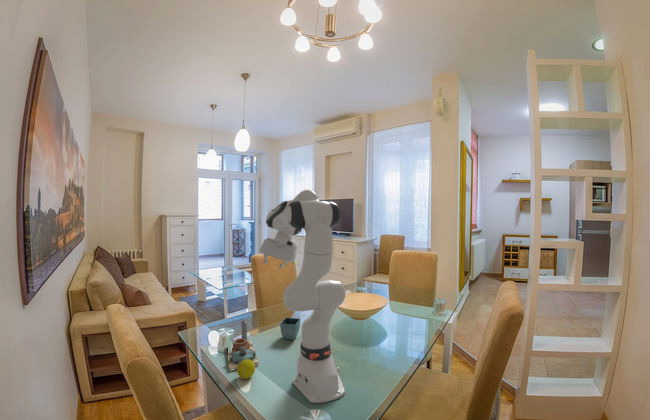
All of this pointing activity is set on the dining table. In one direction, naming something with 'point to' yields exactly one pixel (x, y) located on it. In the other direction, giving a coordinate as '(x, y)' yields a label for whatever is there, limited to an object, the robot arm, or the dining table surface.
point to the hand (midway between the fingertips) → (272, 265)
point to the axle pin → (244, 329)
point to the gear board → (241, 353)
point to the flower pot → (290, 328)
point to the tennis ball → (246, 369)
